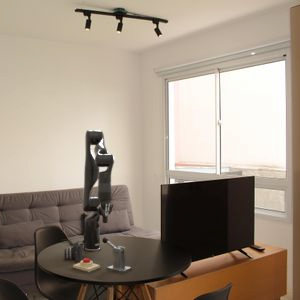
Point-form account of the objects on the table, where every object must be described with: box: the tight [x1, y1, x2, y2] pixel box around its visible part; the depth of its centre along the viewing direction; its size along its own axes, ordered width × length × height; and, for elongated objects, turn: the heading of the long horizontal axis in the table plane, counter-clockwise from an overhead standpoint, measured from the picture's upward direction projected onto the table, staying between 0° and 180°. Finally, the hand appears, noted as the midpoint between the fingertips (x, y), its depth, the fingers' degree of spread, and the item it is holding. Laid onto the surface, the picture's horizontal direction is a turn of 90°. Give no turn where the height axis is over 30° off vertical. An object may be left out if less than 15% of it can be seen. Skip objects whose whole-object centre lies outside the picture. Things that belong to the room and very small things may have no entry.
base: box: [106, 245, 132, 273], centre depth 203 cm, size 10×8×12 cm
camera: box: [63, 240, 84, 262], centre depth 222 cm, size 14×11×10 cm
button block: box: [72, 259, 101, 273], centre depth 204 cm, size 11×9×4 cm
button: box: [82, 257, 91, 263], centre depth 204 cm, size 4×4×2 cm
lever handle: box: [101, 236, 123, 254], centre depth 206 cm, size 13×3×3 cm, turn 50°
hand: (105, 222), depth 208 cm, fingers closed
